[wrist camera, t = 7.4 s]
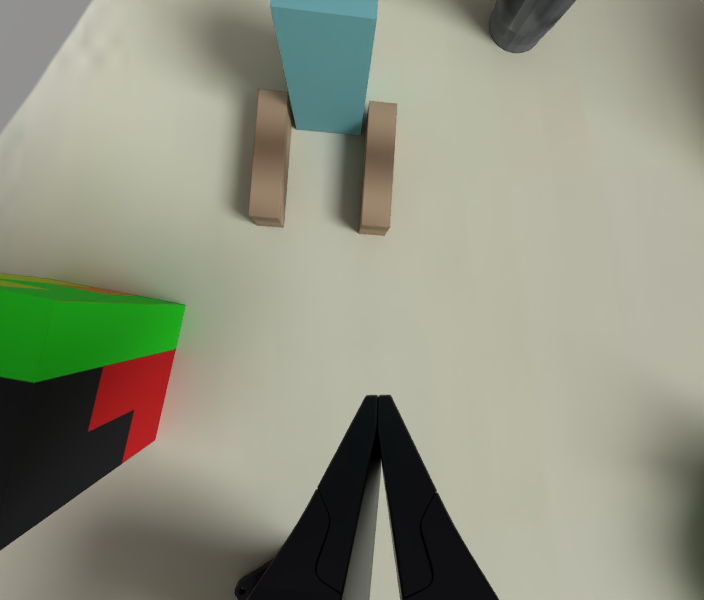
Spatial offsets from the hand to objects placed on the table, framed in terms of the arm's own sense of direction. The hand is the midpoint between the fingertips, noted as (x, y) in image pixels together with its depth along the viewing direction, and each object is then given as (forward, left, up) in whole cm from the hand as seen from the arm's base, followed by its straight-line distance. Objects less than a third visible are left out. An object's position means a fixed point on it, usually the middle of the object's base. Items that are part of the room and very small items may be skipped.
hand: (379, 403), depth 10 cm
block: (+8, +18, -12) cm, 23 cm away
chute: (+5, +13, -12) cm, 19 cm away
